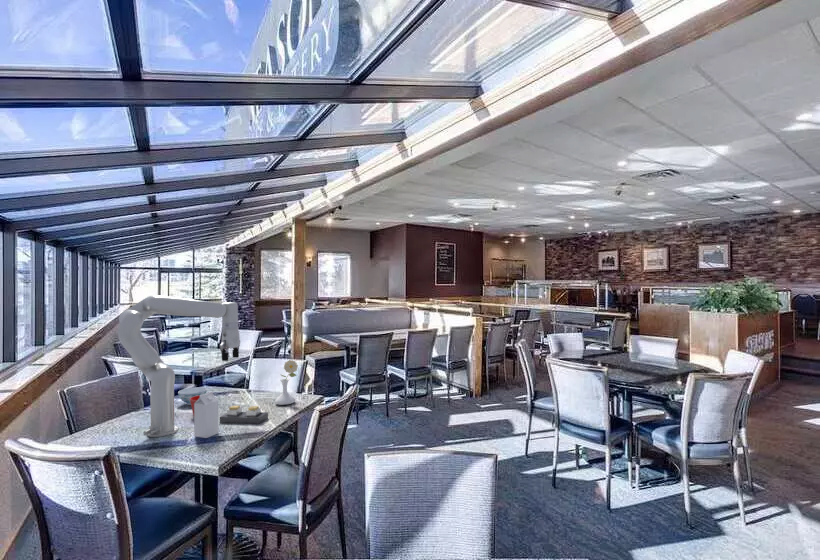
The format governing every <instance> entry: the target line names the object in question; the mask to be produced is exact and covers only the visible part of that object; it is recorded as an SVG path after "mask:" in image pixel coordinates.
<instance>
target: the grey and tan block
mask: <svg viewBox="0 0 820 560" xmlns="http://www.w3.org/2000/svg"><path fill="white" fill-rule="evenodd" d="M261 410H262V409H261V407H259V405H251V406H249V407H248V408H247V410H245V412H246V417H258V416H259V415H261V412H262V411H261Z"/></svg>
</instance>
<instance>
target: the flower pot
mask: <svg viewBox="0 0 820 560" xmlns="http://www.w3.org/2000/svg"><path fill="white" fill-rule="evenodd" d="M199 398H200V395H198V396H194V397H192V398H190V402H191V405H190V406H191V412H192V415H193V417H194V403H195V402H196V401H197V400H198V399H199Z"/></svg>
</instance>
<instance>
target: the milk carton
mask: <svg viewBox="0 0 820 560" xmlns="http://www.w3.org/2000/svg"><path fill="white" fill-rule="evenodd" d="M193 419H194V437H197V438H203V439H208V438H210V437H212V436H216V435H217V434H219V433H220V432H219V431H220V430H219V429H220V428H219V426H220V425H219V400H218V399H217V398H216V396H215V395H214V393H213V391H210V392H206V394H203V395H200V398H199V399H198V400H197V401H196V402H195V403H194V416H193Z"/></svg>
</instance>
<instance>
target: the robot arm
mask: <svg viewBox="0 0 820 560" xmlns="http://www.w3.org/2000/svg"><path fill="white" fill-rule="evenodd" d="M238 310H239V309H238V302H234V301H232V302H231V301H228V302H217V301H215V302H214V301H205V300H196V299H191V298H185V297H184V298H183V297H176V296H165V295H150V296H149V295H148V296H147V297H145V298H143V299H142V300H140V301H139V302H137V303H136V304H134V305H132V306H130V307H129V308H126V310H124V311H123V312H122V313H121V314H120V315H119V317H118V322H119V326H118V329H117V336H118V340H119V342H120V344H121V345H122V347H123V348H124V349H125V350H126V352H127V353H128V354H129V355H130V357H131V360H132V362H133V364H134V365H135V367H137V368H138V370H140V372H141V373H142V374H143V375H144V376H145V377H146V378H147V379H148V380H149V381H150V397H149V398H150V399H149V400H150V403H149V404H150V425H149V426H148V427H149V428H148V429H146V430H144V431H143V433H142V434H143V435H144V436H147V437H150V438H159V437H166V436H170V435H172V434H175V433H177V432H178V431H179V427H178V426H176V425H175V382H176V381H175V379H176V375H175V374H176V373H175V371H174V368H172V367H171V366H170V365H168V364H166V363H165V362H164V361H163V359H162V358H161V357H160V356H159V353H158V351H157V350H156V349H155V348H154V347H153V345H151V344H150V342H149V341H148V340H147V339H146V338H145V337H144V335H143V333H142V330H141V329H142V327H143V325H144V321H146V320H147V319H148V318H150V317H152V316H153V315H155V314H156V315H168V316H169V315H170V316H179V317H180V316H181V317H203V318H204V317H205V318H214V319H219V318H221V329H222V330H221V331H222V332H221V343H220V344H219V349H220V353H221V361H222V362H228V361H229V352H228V351H229V349H232V358H239V357H240V355H239V354H240V351H239V350H240V346H241V340H240V331H239V330H240V329H239V319H238V318H239V314H238V313H239V311H238Z"/></svg>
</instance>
